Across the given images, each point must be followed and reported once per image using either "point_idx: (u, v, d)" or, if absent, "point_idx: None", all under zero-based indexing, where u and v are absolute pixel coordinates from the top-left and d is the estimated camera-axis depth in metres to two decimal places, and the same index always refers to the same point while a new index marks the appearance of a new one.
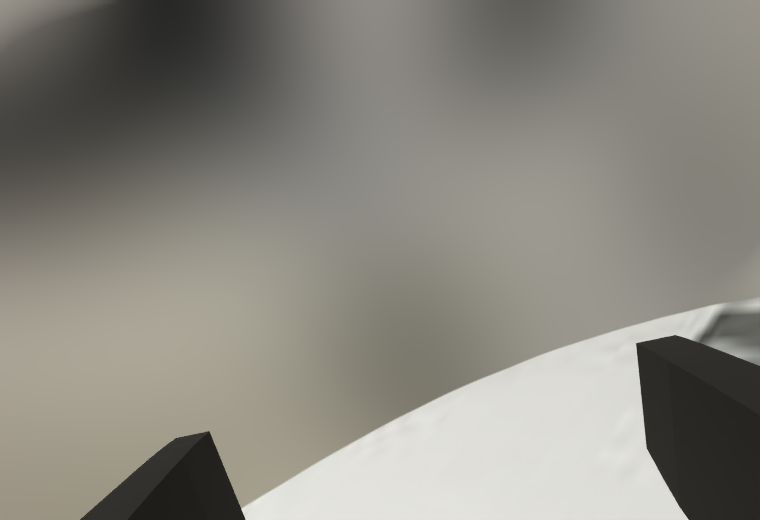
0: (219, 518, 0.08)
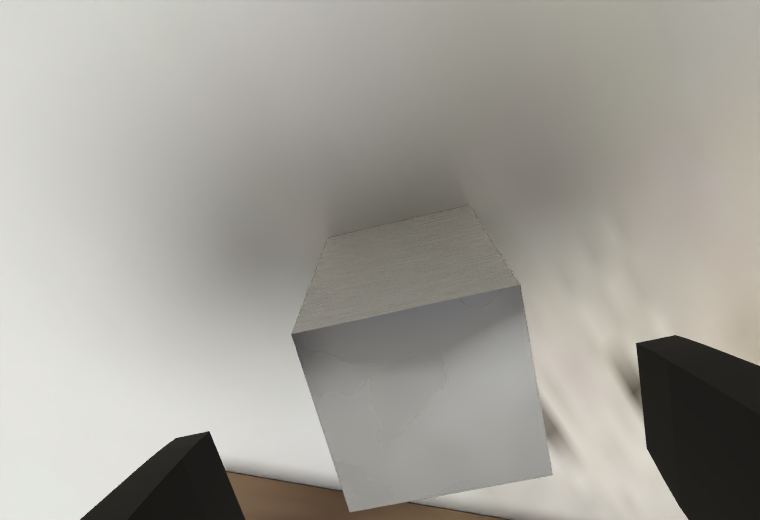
0: (219, 518, 0.08)
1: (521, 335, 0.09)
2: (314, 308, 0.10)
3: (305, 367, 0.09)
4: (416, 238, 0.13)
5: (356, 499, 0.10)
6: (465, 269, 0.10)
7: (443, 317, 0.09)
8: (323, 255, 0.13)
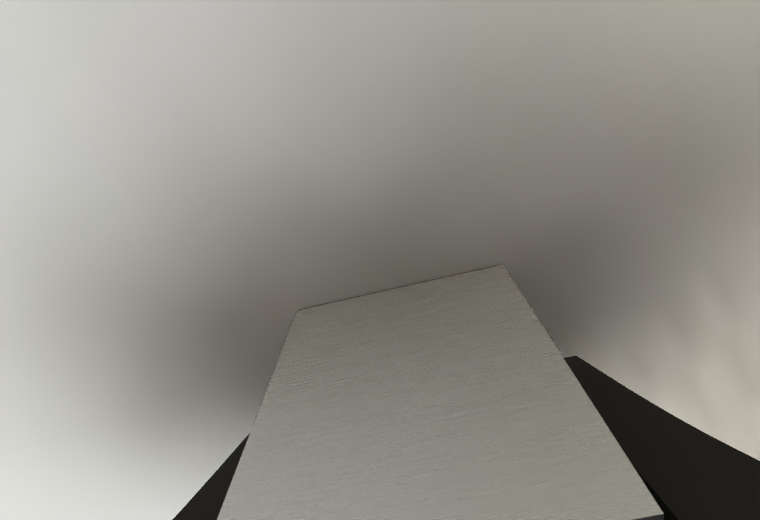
0: None
1: None
2: (246, 508, 0.05)
3: None
4: (428, 331, 0.08)
5: None
6: (528, 436, 0.05)
7: None
8: (284, 350, 0.09)
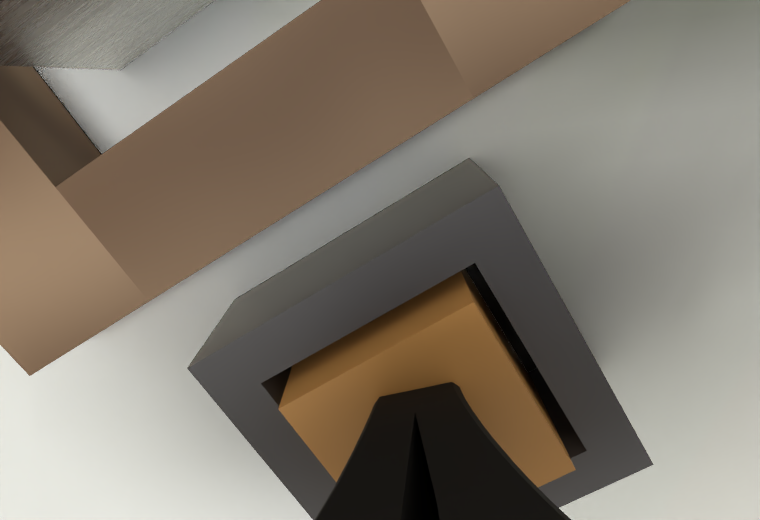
0: None
1: None
2: None
3: None
4: None
5: None
6: None
7: None
8: None
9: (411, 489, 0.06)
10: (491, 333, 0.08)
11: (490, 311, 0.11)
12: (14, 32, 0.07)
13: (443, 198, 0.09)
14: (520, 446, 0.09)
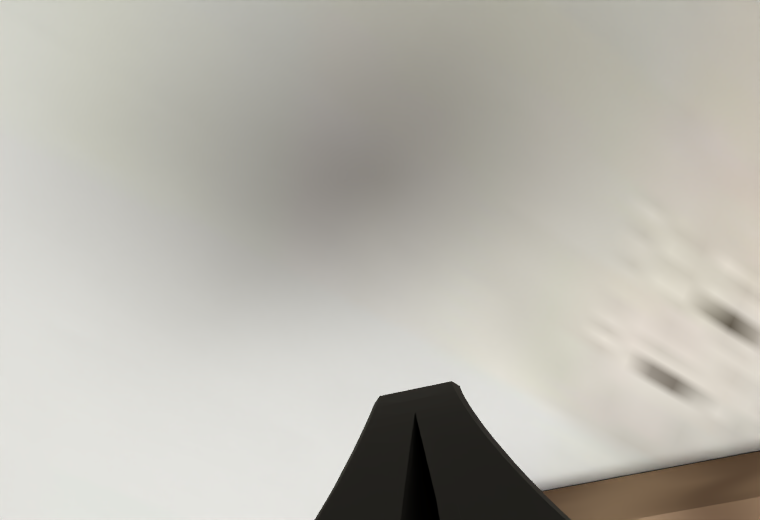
0: None
1: None
2: None
3: None
4: None
5: None
6: None
7: None
8: None
9: (411, 489, 0.06)
10: None
11: None
12: None
13: None
14: None
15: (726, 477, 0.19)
